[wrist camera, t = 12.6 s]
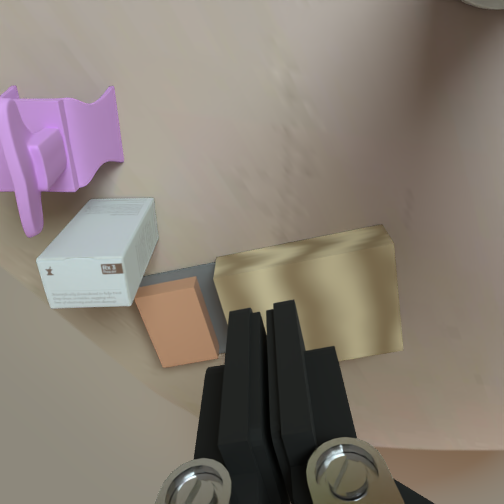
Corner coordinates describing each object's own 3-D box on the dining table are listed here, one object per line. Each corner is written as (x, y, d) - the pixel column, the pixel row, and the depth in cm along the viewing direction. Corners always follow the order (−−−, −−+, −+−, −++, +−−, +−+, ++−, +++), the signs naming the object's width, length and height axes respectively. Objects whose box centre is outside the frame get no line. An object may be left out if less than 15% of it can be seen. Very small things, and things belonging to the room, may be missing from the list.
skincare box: (98, 239, 43) (46, 314, 32) (89, 194, 40) (29, 259, 30) (162, 237, 42) (132, 312, 32) (156, 193, 40) (121, 257, 30)
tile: (133, 298, 43) (138, 287, 45) (163, 367, 47) (166, 355, 49) (193, 287, 42) (196, 276, 44) (218, 358, 46) (219, 345, 48)
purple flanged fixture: (2, 71, 36) (-148, 105, 22) (112, 72, 36) (28, 106, 22) (26, 172, 39) (-89, 252, 26) (125, 173, 39) (60, 253, 26)
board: (382, 224, 42) (393, 243, 38) (392, 325, 47) (403, 350, 44) (216, 257, 43) (213, 278, 40) (244, 350, 49) (244, 377, 45)
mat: (217, 261, 44) (217, 263, 43) (243, 347, 49) (243, 349, 48) (130, 278, 45) (130, 280, 44) (165, 361, 50) (164, 363, 49)
